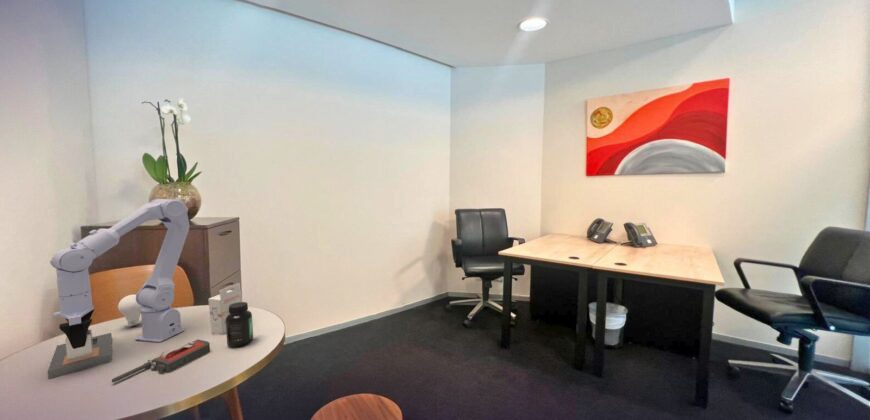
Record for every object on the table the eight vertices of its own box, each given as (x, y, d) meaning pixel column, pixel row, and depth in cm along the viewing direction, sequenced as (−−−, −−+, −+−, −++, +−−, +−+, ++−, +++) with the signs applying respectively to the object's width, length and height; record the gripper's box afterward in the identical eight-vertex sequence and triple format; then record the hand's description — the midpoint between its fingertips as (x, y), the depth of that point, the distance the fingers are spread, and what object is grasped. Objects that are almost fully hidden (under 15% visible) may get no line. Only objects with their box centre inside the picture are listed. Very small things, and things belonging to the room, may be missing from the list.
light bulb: (135, 321, 112) (133, 291, 111) (152, 322, 111) (149, 292, 110) (114, 330, 105) (111, 298, 105) (131, 331, 105) (128, 299, 104)
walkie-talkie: (195, 345, 96) (109, 385, 77) (194, 331, 96) (107, 368, 77) (216, 350, 93) (132, 393, 74) (215, 336, 93) (130, 375, 74)
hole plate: (111, 361, 87) (110, 354, 87) (48, 379, 79) (47, 370, 79) (111, 338, 100) (111, 332, 99) (57, 352, 92) (57, 345, 92)
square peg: (92, 355, 86) (90, 334, 85) (67, 362, 83) (65, 340, 82) (93, 349, 89) (91, 329, 89) (69, 355, 86) (67, 334, 85)
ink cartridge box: (231, 322, 111) (229, 281, 110) (244, 323, 110) (241, 282, 109) (210, 333, 103) (207, 289, 102) (223, 334, 102) (220, 290, 101)
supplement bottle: (258, 340, 98) (256, 302, 97) (236, 350, 92) (233, 310, 91) (244, 335, 101) (242, 299, 100) (222, 345, 95) (219, 306, 94)
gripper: (55, 290, 87) (60, 338, 88) (47, 304, 77) (53, 358, 78) (93, 284, 92) (97, 329, 93) (90, 297, 82) (95, 347, 83)
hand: (80, 342), depth 86 cm, fingers open, 7 cm apart
